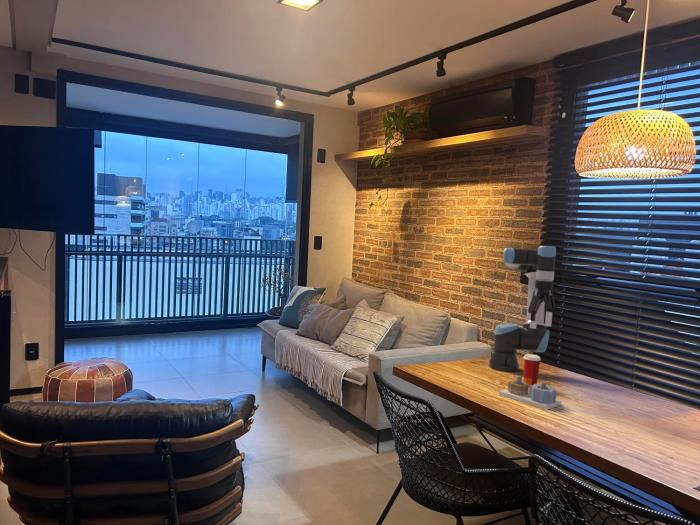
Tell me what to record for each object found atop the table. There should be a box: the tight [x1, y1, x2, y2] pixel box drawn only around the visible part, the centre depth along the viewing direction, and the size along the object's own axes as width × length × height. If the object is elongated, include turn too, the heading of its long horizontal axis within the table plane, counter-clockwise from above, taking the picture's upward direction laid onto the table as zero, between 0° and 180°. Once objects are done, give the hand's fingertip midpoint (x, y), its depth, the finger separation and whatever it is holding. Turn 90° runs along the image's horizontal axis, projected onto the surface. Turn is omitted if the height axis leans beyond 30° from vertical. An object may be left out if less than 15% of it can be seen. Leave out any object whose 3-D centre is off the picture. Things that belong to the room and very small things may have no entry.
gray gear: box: [528, 384, 558, 404], centre depth 213 cm, size 10×10×5 cm
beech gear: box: [507, 380, 529, 395], centre depth 221 cm, size 8×8×4 cm
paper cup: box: [522, 353, 542, 387], centre depth 238 cm, size 8×8×14 cm
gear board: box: [498, 375, 562, 411], centre depth 217 cm, size 12×22×8 cm, turn 41°
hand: (540, 327), depth 230 cm, fingers open, 13 cm apart
